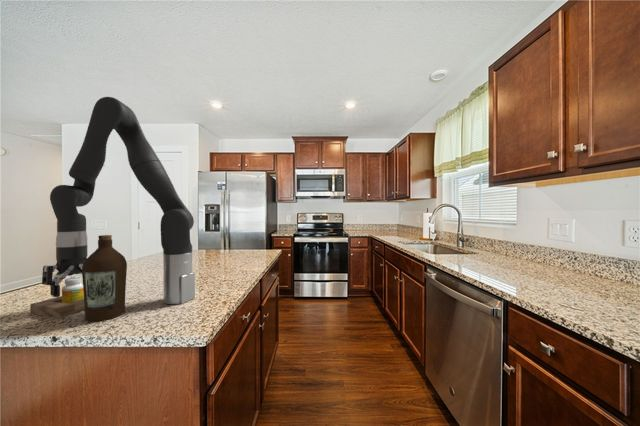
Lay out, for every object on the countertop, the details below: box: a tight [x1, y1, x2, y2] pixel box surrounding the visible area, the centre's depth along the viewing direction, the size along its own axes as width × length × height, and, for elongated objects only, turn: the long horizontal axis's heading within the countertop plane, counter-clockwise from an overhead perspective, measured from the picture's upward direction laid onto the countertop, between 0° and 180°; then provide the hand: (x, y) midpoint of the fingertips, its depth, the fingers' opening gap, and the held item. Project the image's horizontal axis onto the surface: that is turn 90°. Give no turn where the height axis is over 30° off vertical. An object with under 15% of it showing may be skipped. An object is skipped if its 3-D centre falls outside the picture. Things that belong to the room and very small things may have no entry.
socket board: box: [29, 295, 85, 319], centre depth 84 cm, size 14×14×3 cm
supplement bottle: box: [61, 277, 84, 303], centre depth 84 cm, size 5×5×10 cm
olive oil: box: [81, 234, 128, 323], centre depth 77 cm, size 11×11×25 cm
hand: (72, 292), depth 84 cm, fingers open, 8 cm apart
